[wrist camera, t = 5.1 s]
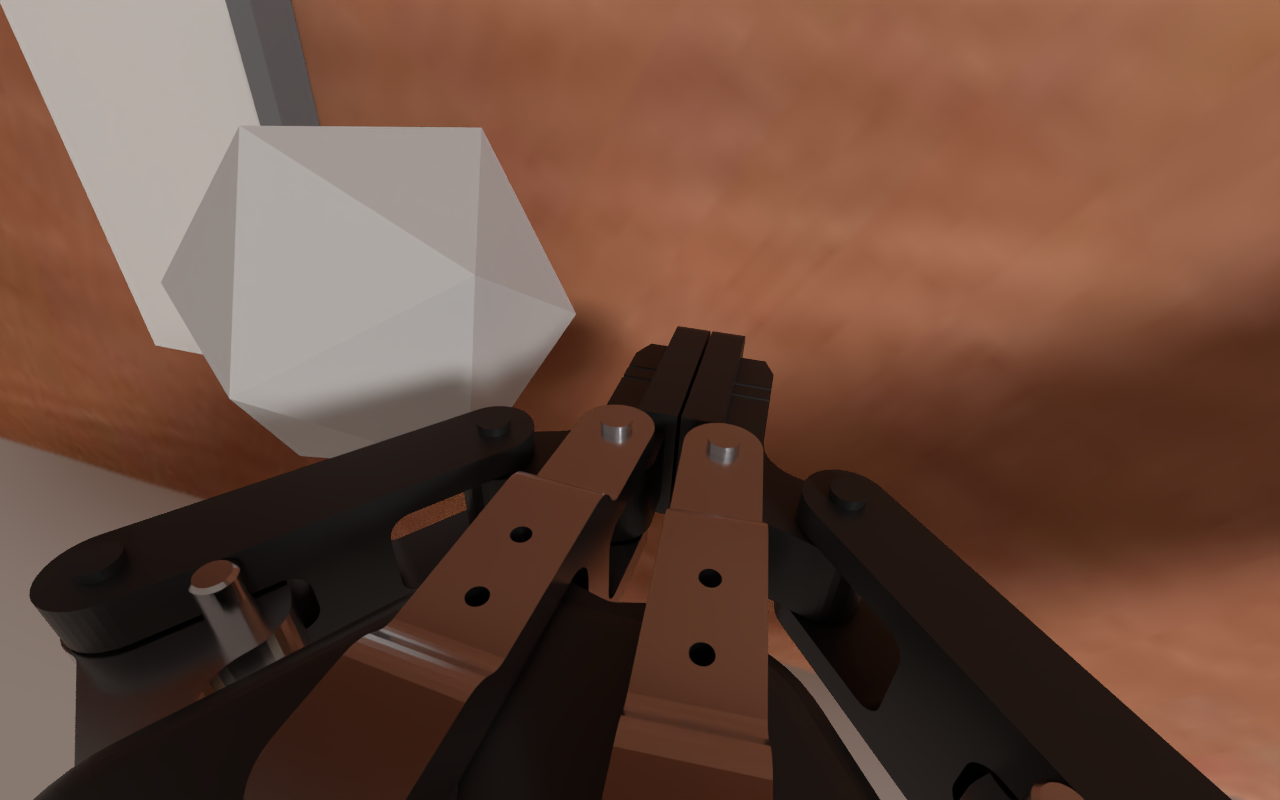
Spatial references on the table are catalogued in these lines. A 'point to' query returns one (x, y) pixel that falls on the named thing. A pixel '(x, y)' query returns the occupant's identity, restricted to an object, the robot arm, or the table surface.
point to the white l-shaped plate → (159, 112)
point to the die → (365, 282)
